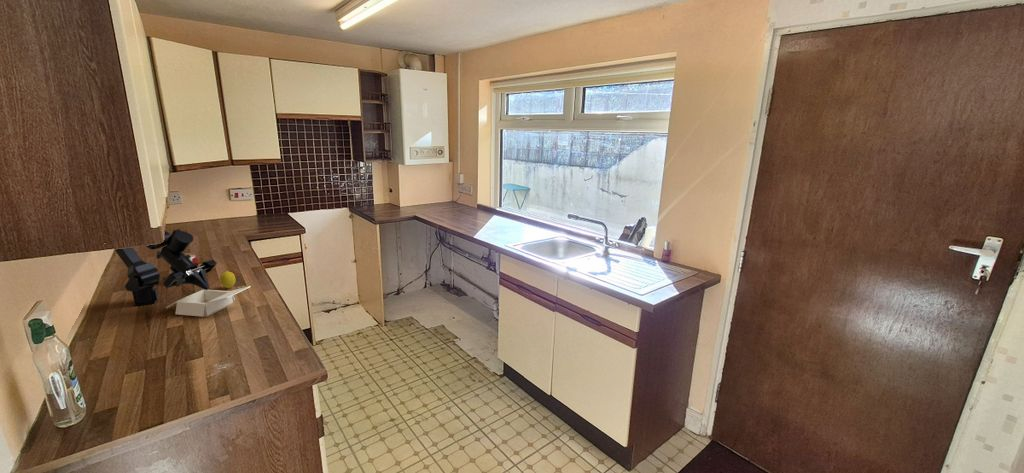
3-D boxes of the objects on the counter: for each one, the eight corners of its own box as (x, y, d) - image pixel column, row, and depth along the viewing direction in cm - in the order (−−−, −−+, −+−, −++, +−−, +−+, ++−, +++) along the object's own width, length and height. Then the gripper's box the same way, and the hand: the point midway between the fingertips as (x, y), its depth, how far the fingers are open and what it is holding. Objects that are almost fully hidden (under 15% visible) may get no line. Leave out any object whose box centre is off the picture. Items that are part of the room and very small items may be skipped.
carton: (162, 314, 153) (159, 302, 152) (197, 298, 168) (195, 286, 167) (203, 318, 151) (201, 305, 150) (236, 301, 166) (234, 289, 165)
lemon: (229, 291, 176) (226, 273, 174) (218, 290, 177) (215, 272, 175) (239, 286, 181) (237, 269, 179) (229, 285, 182) (226, 268, 180)
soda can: (203, 280, 187) (199, 255, 184) (190, 284, 183) (186, 258, 180) (196, 278, 190) (192, 253, 187) (184, 282, 185) (179, 256, 182)
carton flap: (206, 302, 152) (226, 297, 150) (231, 290, 163) (250, 285, 161) (207, 303, 152) (227, 298, 150) (231, 291, 163) (250, 287, 161)
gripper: (187, 264, 167) (216, 292, 168) (142, 280, 149) (174, 311, 150) (202, 247, 164) (231, 275, 165) (157, 261, 146) (190, 293, 147)
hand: (207, 289), depth 157 cm, fingers closed
